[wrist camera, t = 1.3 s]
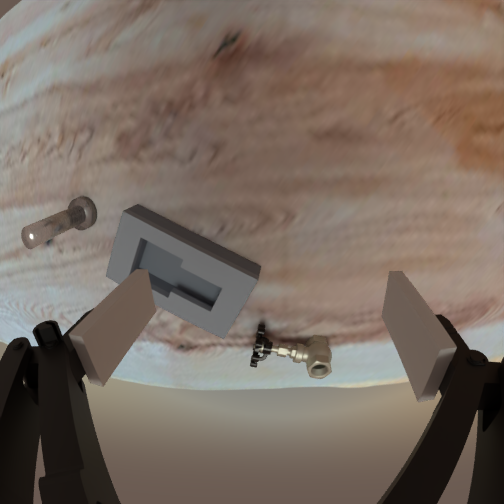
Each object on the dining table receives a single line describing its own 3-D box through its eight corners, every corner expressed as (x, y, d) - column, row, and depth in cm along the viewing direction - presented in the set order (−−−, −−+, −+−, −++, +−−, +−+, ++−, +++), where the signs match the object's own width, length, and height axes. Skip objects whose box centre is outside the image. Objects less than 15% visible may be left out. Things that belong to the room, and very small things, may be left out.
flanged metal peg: (69, 204, 42) (12, 227, 29) (89, 191, 41) (30, 212, 28) (81, 231, 43) (27, 261, 31) (101, 220, 42) (45, 250, 30)
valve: (335, 329, 44) (260, 315, 45) (340, 355, 38) (256, 341, 38) (322, 359, 46) (253, 347, 47) (325, 387, 40) (248, 375, 41)
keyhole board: (119, 265, 44) (105, 276, 40) (137, 204, 40) (123, 211, 36) (229, 322, 46) (223, 339, 41) (260, 266, 42) (257, 279, 37)
